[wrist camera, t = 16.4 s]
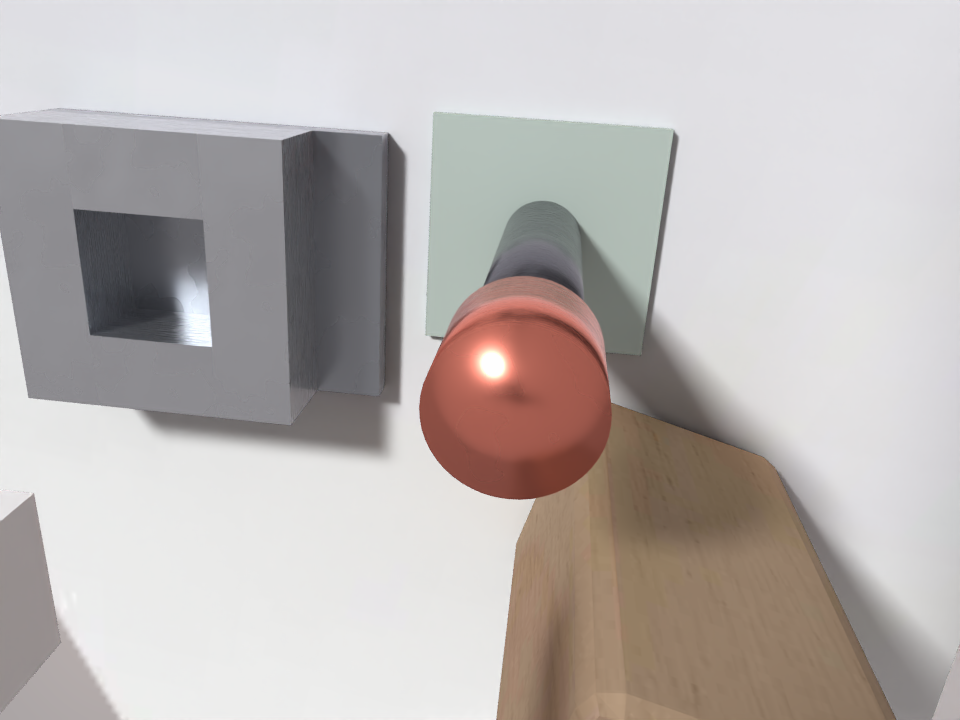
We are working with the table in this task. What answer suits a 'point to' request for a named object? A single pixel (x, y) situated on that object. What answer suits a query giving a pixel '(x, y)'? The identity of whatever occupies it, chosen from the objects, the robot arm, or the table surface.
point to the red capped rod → (522, 368)
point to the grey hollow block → (194, 261)
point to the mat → (556, 178)
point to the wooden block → (677, 594)
